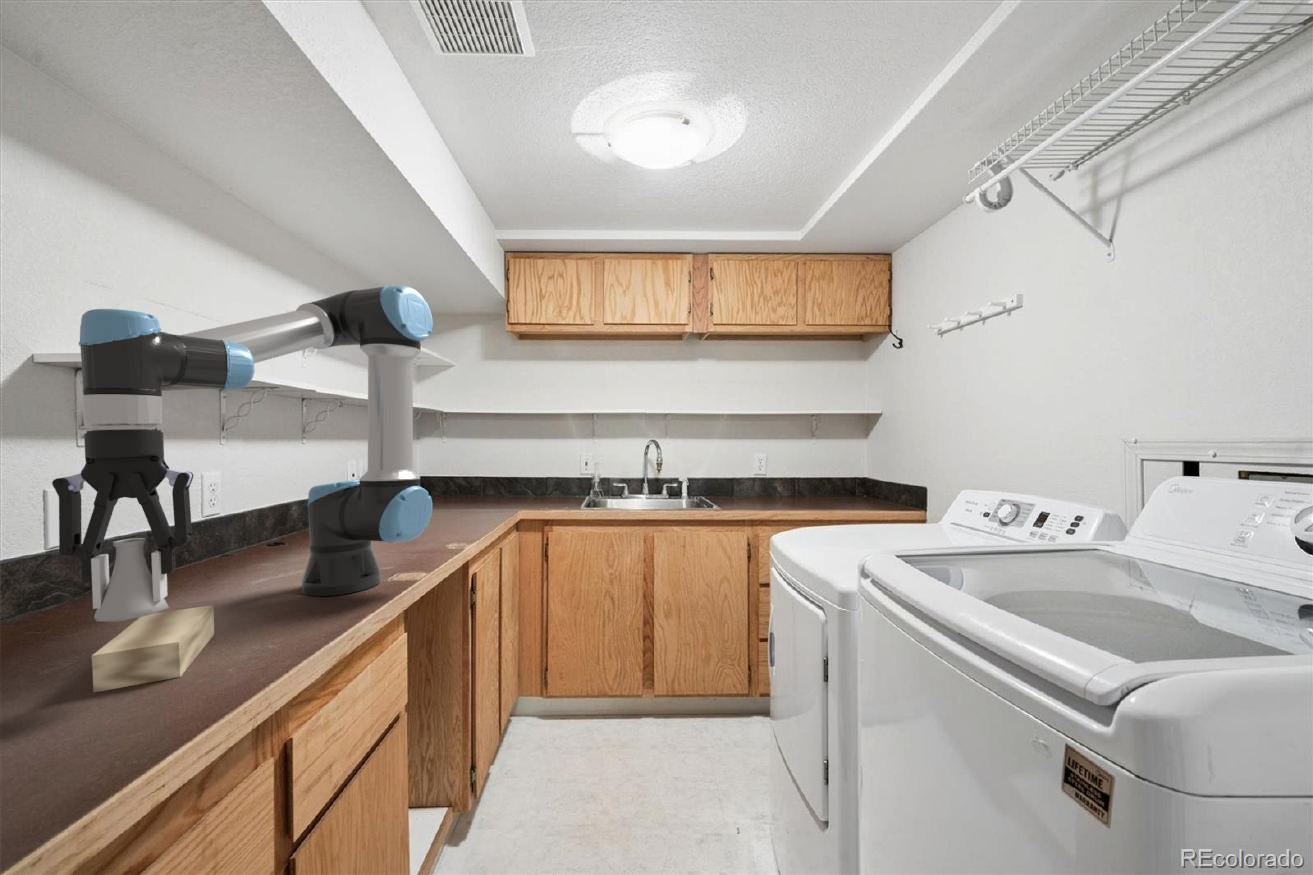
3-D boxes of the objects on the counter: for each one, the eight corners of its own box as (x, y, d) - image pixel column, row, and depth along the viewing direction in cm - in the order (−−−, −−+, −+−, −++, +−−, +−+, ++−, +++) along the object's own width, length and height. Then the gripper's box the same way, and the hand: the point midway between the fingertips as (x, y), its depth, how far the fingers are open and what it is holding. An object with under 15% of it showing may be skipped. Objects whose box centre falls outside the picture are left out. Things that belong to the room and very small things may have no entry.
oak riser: (214, 634, 93) (213, 605, 93) (180, 676, 77) (178, 641, 77) (144, 645, 89) (143, 614, 88) (93, 692, 73) (91, 655, 72)
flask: (148, 603, 77) (145, 533, 77) (181, 608, 75) (178, 536, 75) (80, 620, 71) (77, 544, 70) (113, 626, 68) (110, 547, 68)
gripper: (218, 427, 80) (224, 584, 80) (44, 429, 71) (51, 605, 72) (203, 426, 73) (210, 598, 73) (9, 429, 65) (18, 623, 65)
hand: (131, 601), depth 73 cm, fingers closed on flask, 5 cm apart
